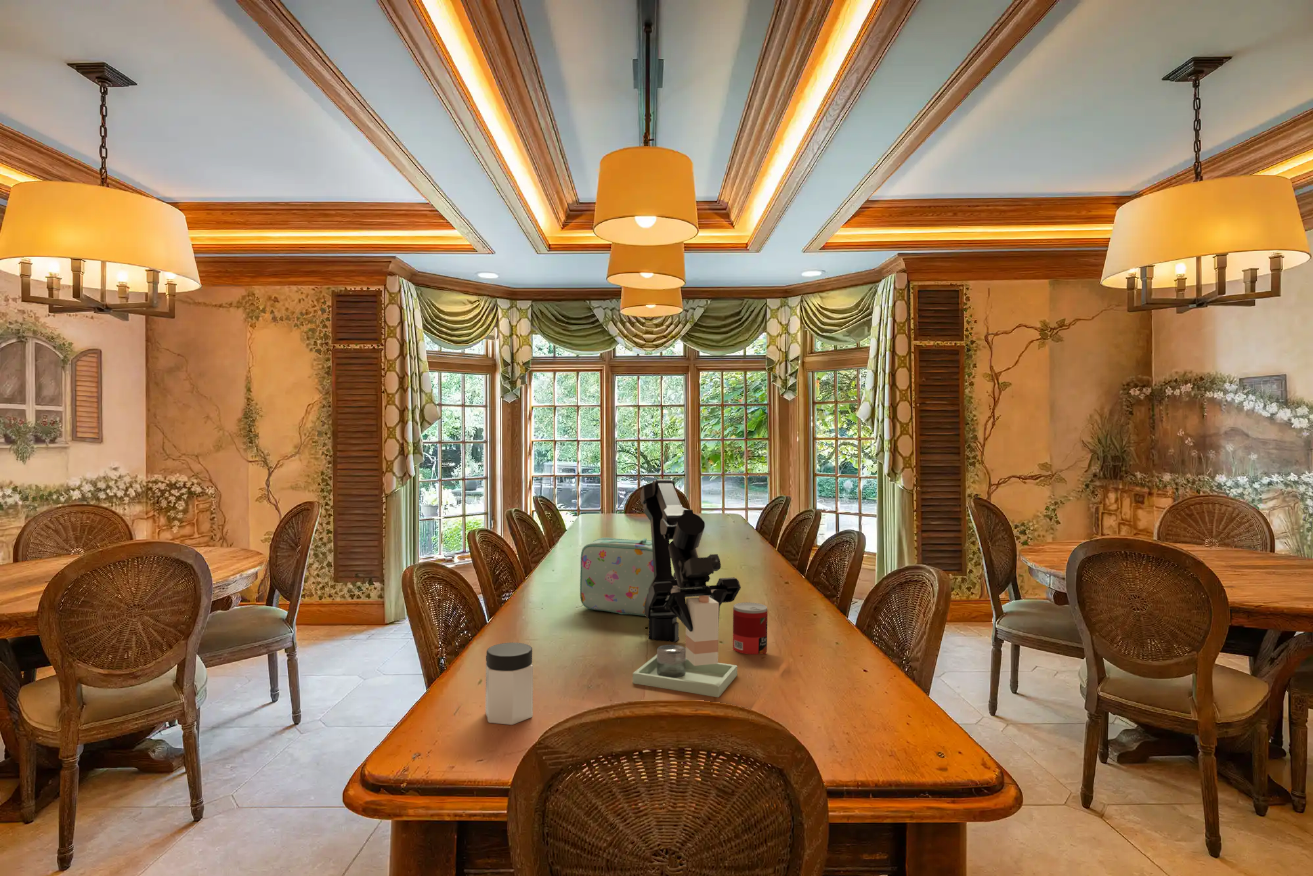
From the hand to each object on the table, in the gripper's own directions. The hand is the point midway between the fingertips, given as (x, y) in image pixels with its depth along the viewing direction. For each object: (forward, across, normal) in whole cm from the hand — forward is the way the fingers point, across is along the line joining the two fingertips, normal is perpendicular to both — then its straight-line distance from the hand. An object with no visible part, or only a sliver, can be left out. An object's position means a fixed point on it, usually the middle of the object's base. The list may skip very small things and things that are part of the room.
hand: (704, 629), depth 135 cm
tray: (+5, -2, +13) cm, 14 cm away
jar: (+9, -38, +9) cm, 40 cm away
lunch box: (-36, +1, +54) cm, 65 cm away
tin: (+2, -4, +15) cm, 15 cm away
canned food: (-5, +19, +23) cm, 30 cm away
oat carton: (+4, 0, +6) cm, 7 cm away
